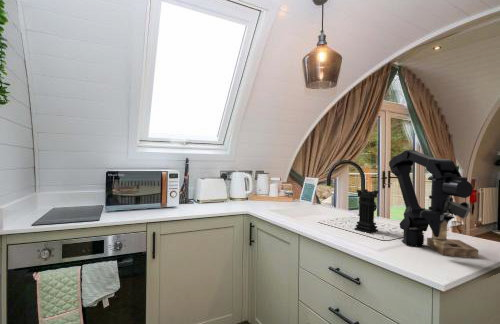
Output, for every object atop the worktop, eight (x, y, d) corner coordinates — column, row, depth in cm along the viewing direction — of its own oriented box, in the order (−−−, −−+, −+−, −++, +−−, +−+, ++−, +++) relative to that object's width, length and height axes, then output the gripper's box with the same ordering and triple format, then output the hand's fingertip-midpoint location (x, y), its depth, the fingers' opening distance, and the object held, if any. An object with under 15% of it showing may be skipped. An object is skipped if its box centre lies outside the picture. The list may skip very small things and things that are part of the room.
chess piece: (369, 233, 127) (370, 192, 127) (354, 229, 134) (355, 190, 133) (378, 231, 132) (379, 190, 131) (363, 227, 138) (364, 189, 138)
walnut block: (442, 255, 101) (442, 247, 101) (426, 244, 113) (427, 237, 113) (478, 257, 99) (478, 249, 99) (458, 246, 111) (458, 239, 111)
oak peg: (435, 247, 96) (436, 222, 96) (429, 243, 101) (430, 219, 100) (449, 248, 95) (450, 223, 95) (442, 244, 100) (443, 220, 100)
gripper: (458, 198, 86) (456, 246, 86) (476, 194, 96) (475, 237, 97) (420, 194, 95) (418, 237, 95) (441, 191, 106) (439, 230, 106)
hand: (439, 235), depth 98 cm, fingers closed on oak peg, 4 cm apart
